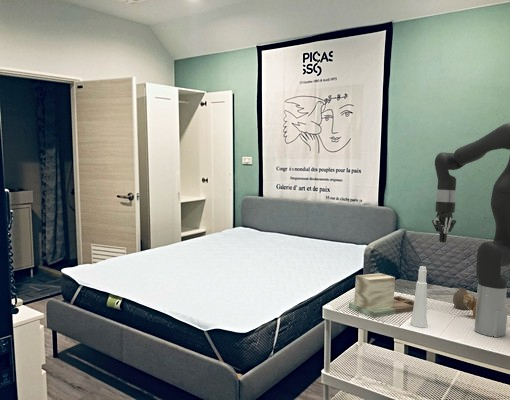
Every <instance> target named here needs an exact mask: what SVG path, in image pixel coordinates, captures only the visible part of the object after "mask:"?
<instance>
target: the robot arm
mask: <svg viewBox="0 0 510 400" xmlns="http://www.w3.org/2000/svg"><path fill="white" fill-rule="evenodd" d="M503 149H504V150H507V151H510V122H507V123H504V124H501V125H500V126H498V127H496V128H495V129H494V130H492V131H490V132H489V133H487V134H486V135H484V136H482V137H481V138H479V139H477V140H475V141H473V142H470V143H468V144H465V145H462V146H460V147H458V148H457V149H456V150H455V151H454V153H453V152H444V151H442V152H439V153H438V154H437V155H436V156H435V159H434V168H435V172H436V177H437V189H436V195H435V209H434V210H435V211H434V212H437V214H436V216H435V219H432V220H431V223H432V225H433V227H434V229H435V231H436V232H437V233H439V238H438V240H439V243H442V244H443V243H447V239H448V238H447V237H448V233H451V232H452V230H453V228H454V227H455V225H456V223H457V220H456V219H454V218H453V216H454V215H453V213H456V200H457V194H456V190H457V189H456V188H457V177H456V176H453V175H451V174H450V171H456V170H460V169H461V168H463V167H464V166H466V165H467V164H470V163H472V162H476V161H478V160H480V159H482V158H484V157H485V155H486V154H487V153H489V152H491V151H495V150H503ZM490 209H491V212H492V215H493V219H494V223H495V231H494V238H493V241H485V242H482V243H481V244H480V245H479V246H478V249H477V251H476V266H475V267H476V269H475V270H476V272H475V273H476V277H477V292H476V299H477V302H476V315H475V319H474V331H475V332H476V333H478V334H480V335H484V336H488V337H493V336H494V338H499V337H503V336H504V337H505V336H506V334H507V325H508V324H507V323H508V322H507V321H508V314H509V313H508V312H509V311H508V308H506V305H507V304H506V302H507V301H506V300H507V292H508V291H507V290H508V280H507V279H506V278H505V277H503V276H502V271H501V270H502V269H501V268H503V267H504V268H505V267H507V266H509V265H510V156H509V159H508V161H507V164H506V167H504V170H503V171H502V172H501V174H500V175H499V177H497V179H496V181H495V182H494V184H493V187H492V193H491V198H490Z"/></svg>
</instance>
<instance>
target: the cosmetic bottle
mask: <svg viewBox="0 0 510 400" xmlns="http://www.w3.org/2000/svg"><path fill="white" fill-rule="evenodd" d="M427 273H428V271H427V266H423V265H421V266H419V268H418V276H417V281H416V286H415V292H414V293H415V294H414V299H413V301H414V307H413V311H412V314H411V319H410V323H409V324H410V325H411V326H413V327H415V328H422V329H423V328H427V327H428V318H427V317H428V316H427V315H428V312H427V310H428V309H427V307H428V306H427V304H428V299H427V298H428V283H427Z"/></svg>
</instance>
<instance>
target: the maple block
mask: <svg viewBox="0 0 510 400" xmlns="http://www.w3.org/2000/svg"><path fill="white" fill-rule="evenodd" d="M354 285H355V286H354V301H353V302H354V305H357V306H359V307H362V308H364V309H367V310H373V309H379V308H386V307H393V304H394V297H395V287H396V286H395V285H396V277H395V276H392V275H389V274H385V273H380V272H379V273H370V274H369V273H368V274H358V275H355V283H354Z"/></svg>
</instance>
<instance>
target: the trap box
mask: <svg viewBox="0 0 510 400" xmlns="http://www.w3.org/2000/svg"><path fill="white" fill-rule="evenodd" d="M413 307H414V299H410V298H407V297H405V296H401V295H394V304H393V307H386V308H379V309H373V310H367V309H364V308H362V307H359V306H357V305H354V301H352V302H351V301H350V302H348V308H350V309H351V310H354V311H357V312H359V313H361V314H364V315H367V316H369V317H372V318H378V317H380V318H381V317H385V316H393V315H398V314H399V315H400V314H404V313H410V312H413Z"/></svg>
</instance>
